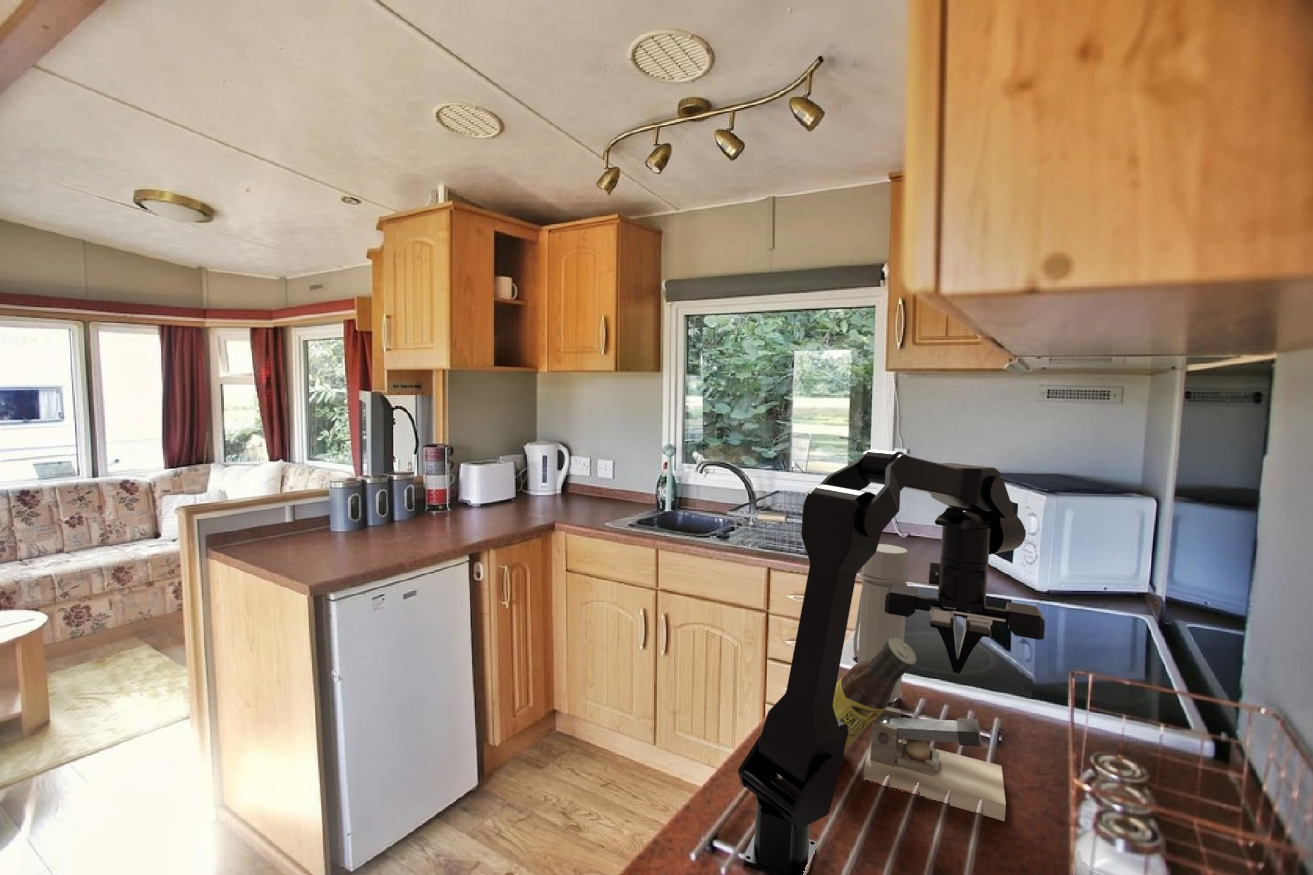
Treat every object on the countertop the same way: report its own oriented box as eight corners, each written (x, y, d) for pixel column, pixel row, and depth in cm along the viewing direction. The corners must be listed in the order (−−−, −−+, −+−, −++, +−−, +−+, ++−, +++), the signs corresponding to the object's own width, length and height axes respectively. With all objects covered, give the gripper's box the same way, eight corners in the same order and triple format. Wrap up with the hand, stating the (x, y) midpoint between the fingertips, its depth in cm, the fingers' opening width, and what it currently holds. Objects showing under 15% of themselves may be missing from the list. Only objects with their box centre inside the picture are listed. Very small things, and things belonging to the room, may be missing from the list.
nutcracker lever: (980, 746, 76) (978, 732, 76) (878, 739, 82) (876, 726, 82) (980, 733, 80) (977, 719, 80) (881, 727, 85) (879, 714, 85)
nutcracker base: (1004, 821, 73) (1008, 763, 73) (863, 779, 80) (866, 727, 80) (1000, 780, 81) (1004, 728, 81) (872, 746, 88) (875, 698, 88)
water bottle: (911, 700, 103) (921, 551, 101) (878, 710, 99) (888, 555, 97) (868, 677, 111) (876, 539, 109) (836, 685, 107) (844, 543, 105)
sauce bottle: (812, 760, 83) (893, 672, 74) (794, 716, 88) (867, 628, 78) (850, 758, 86) (933, 673, 76) (830, 716, 91) (906, 630, 81)
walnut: (928, 770, 79) (930, 747, 79) (903, 763, 81) (905, 741, 81) (929, 758, 82) (931, 736, 82) (905, 752, 83) (906, 730, 83)
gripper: (1039, 555, 86) (1030, 665, 87) (895, 538, 94) (889, 638, 95) (1049, 574, 76) (1039, 698, 77) (887, 553, 84) (880, 665, 85)
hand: (956, 672), depth 84 cm, fingers closed
